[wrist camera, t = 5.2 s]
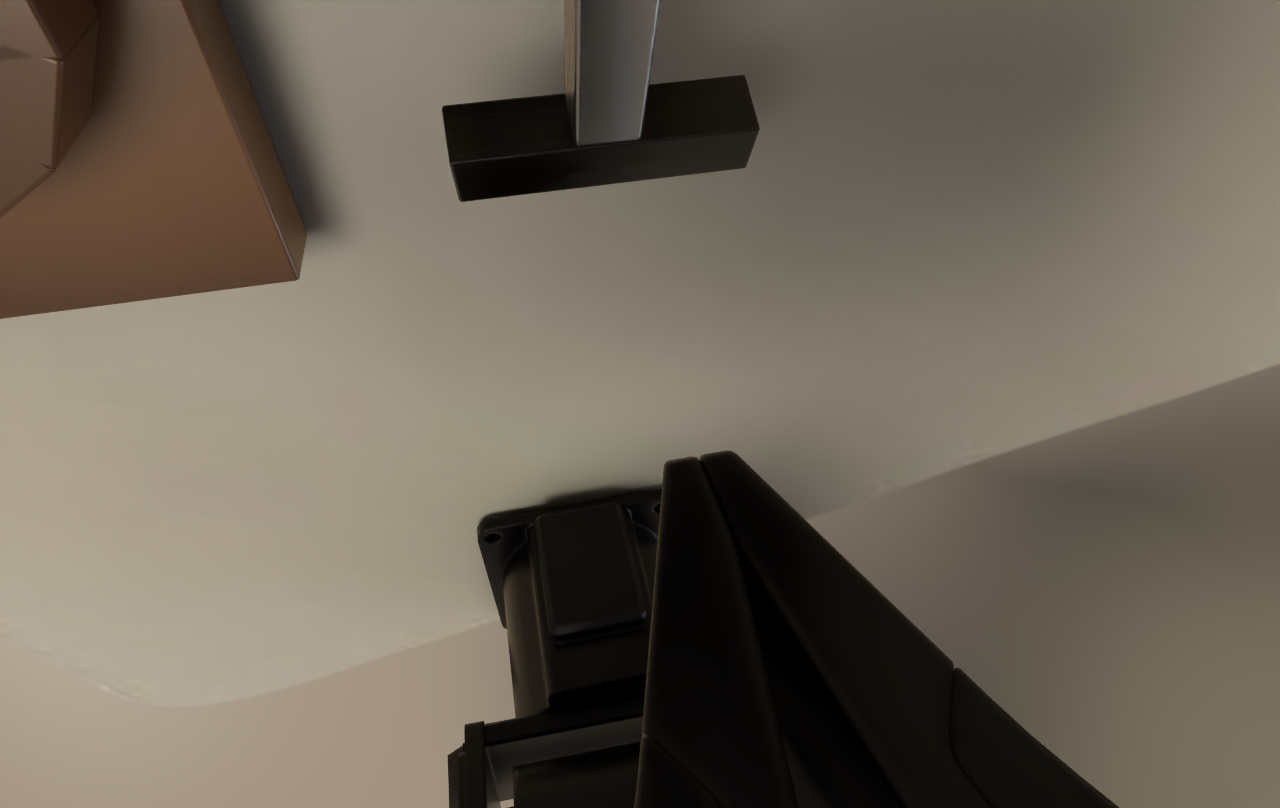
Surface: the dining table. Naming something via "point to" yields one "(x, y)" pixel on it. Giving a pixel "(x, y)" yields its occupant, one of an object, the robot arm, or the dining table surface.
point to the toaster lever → (601, 116)
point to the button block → (133, 158)
